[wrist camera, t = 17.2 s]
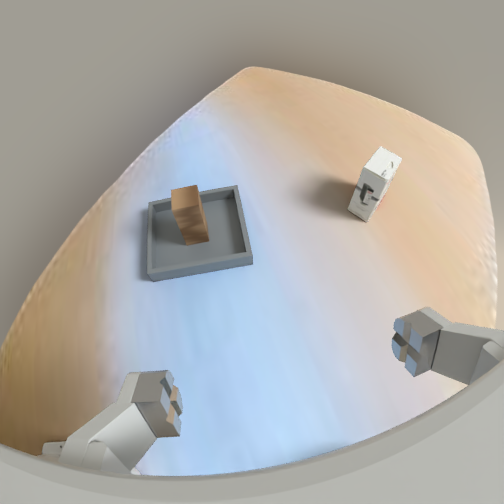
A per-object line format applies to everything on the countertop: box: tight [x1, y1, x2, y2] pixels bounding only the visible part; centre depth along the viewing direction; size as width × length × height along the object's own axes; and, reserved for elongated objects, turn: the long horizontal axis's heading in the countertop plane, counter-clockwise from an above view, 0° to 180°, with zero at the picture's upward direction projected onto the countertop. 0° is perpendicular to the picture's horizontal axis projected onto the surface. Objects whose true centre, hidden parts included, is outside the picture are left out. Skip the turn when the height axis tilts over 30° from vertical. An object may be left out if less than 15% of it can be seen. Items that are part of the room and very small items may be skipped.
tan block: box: [171, 185, 209, 246], centre depth 44 cm, size 4×4×10 cm
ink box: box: [348, 146, 402, 222], centre depth 46 cm, size 9×5×12 cm, turn 139°
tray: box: [147, 185, 253, 282], centre depth 47 cm, size 17×15×3 cm
